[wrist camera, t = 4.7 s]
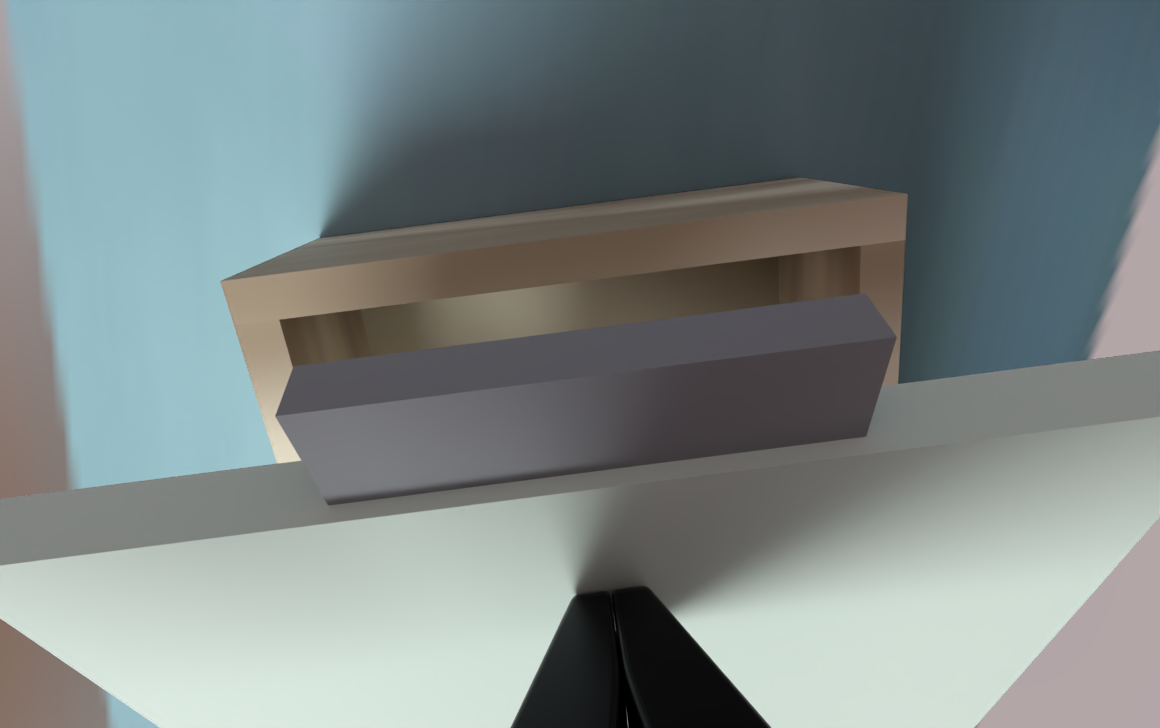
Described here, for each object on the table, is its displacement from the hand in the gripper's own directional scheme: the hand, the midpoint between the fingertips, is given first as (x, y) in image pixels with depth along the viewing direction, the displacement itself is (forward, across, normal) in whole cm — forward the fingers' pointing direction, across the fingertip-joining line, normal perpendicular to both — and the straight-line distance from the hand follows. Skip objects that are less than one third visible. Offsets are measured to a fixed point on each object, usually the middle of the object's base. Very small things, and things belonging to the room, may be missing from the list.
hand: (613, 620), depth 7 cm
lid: (+2, 0, +4) cm, 5 cm away
